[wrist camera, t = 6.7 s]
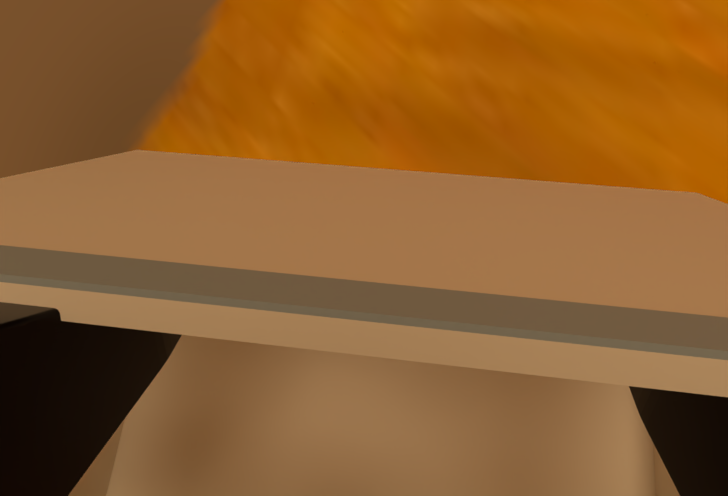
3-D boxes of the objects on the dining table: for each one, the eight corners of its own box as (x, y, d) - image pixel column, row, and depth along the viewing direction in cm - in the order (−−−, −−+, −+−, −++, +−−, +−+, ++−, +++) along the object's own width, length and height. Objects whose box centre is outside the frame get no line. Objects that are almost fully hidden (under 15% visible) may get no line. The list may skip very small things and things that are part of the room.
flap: (1286, 461, 5) (1326, 414, 5) (-316, 277, 7) (-333, 238, 7) (692, 207, 16) (697, 189, 16) (138, 162, 18) (137, 146, 18)
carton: (671, 628, 17) (754, 701, 13) (89, 535, 19) (11, 574, 15) (650, 250, 20) (709, 219, 17) (170, 208, 22) (123, 171, 19)
